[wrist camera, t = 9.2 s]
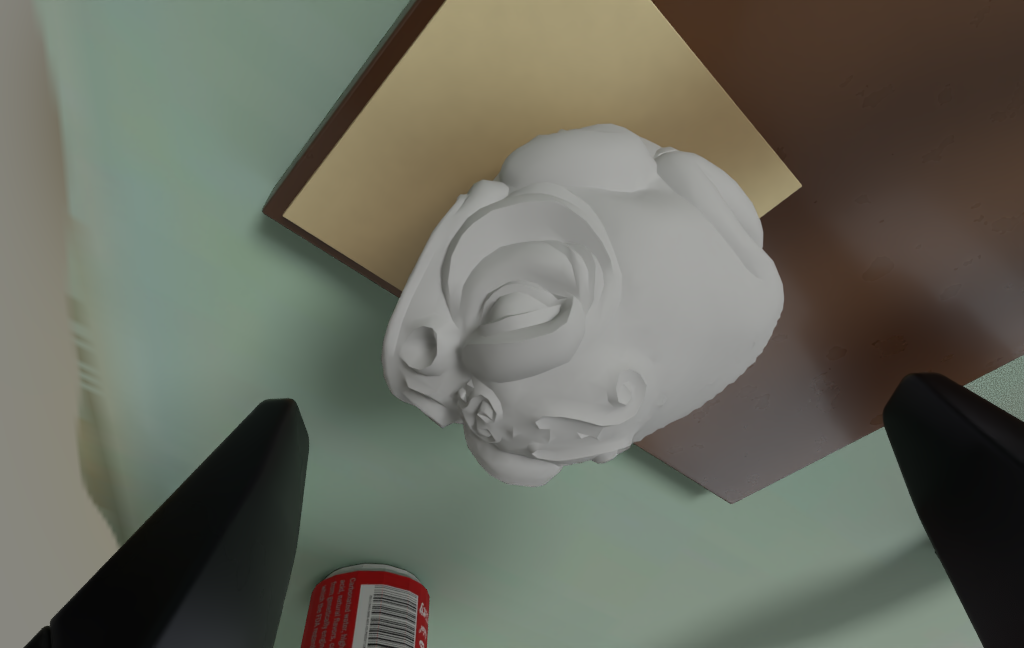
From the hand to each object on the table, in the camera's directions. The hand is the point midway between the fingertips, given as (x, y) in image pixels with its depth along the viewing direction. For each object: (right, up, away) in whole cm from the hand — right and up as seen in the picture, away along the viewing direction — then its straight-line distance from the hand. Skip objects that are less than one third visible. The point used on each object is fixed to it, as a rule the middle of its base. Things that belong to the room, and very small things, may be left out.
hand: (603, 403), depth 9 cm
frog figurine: (0, +4, +5) cm, 7 cm away
